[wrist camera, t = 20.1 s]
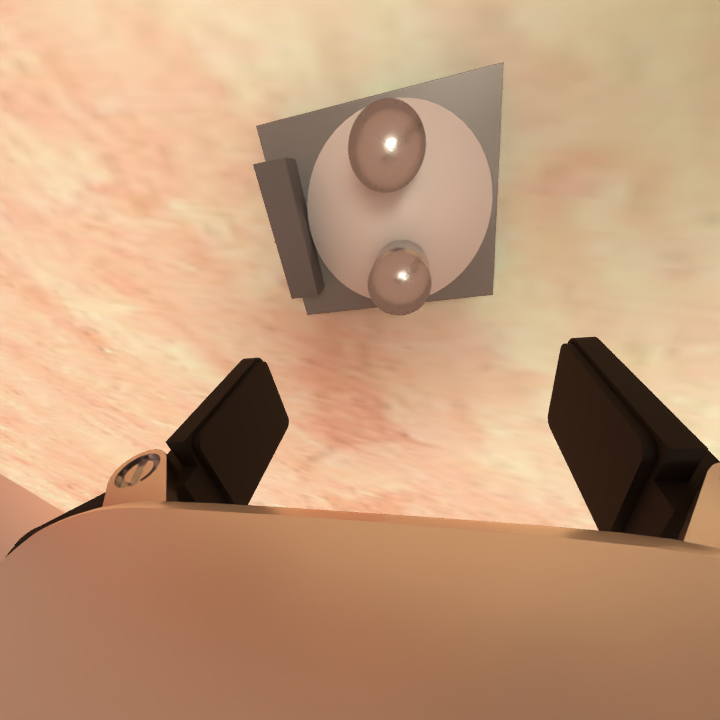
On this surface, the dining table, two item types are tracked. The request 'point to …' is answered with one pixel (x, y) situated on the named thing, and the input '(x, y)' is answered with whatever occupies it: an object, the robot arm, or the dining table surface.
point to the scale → (387, 195)
